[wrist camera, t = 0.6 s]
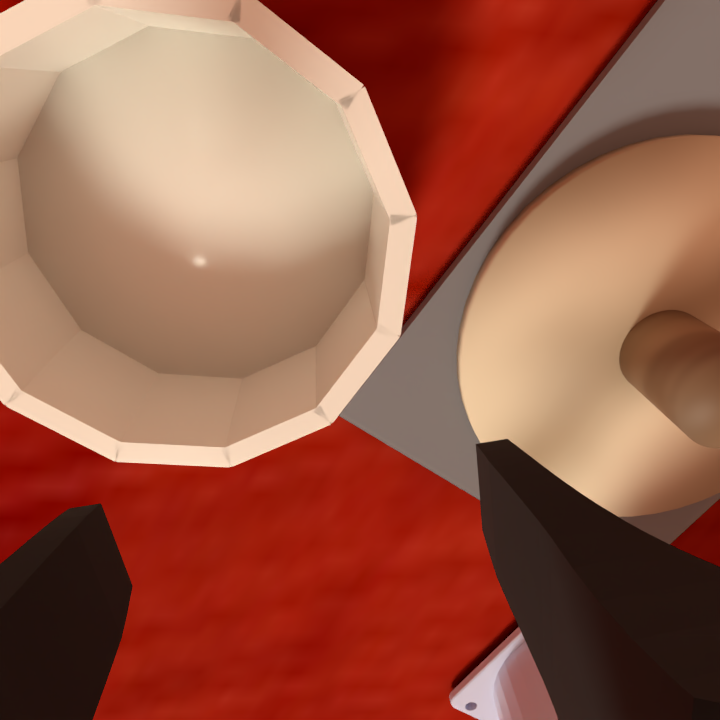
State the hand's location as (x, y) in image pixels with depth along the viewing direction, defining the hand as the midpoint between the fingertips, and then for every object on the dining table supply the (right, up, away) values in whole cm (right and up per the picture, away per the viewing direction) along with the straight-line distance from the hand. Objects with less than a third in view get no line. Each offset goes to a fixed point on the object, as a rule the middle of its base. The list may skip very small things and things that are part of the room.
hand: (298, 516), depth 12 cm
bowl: (-3, +7, +7) cm, 11 cm away
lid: (+11, +4, +9) cm, 14 cm away
